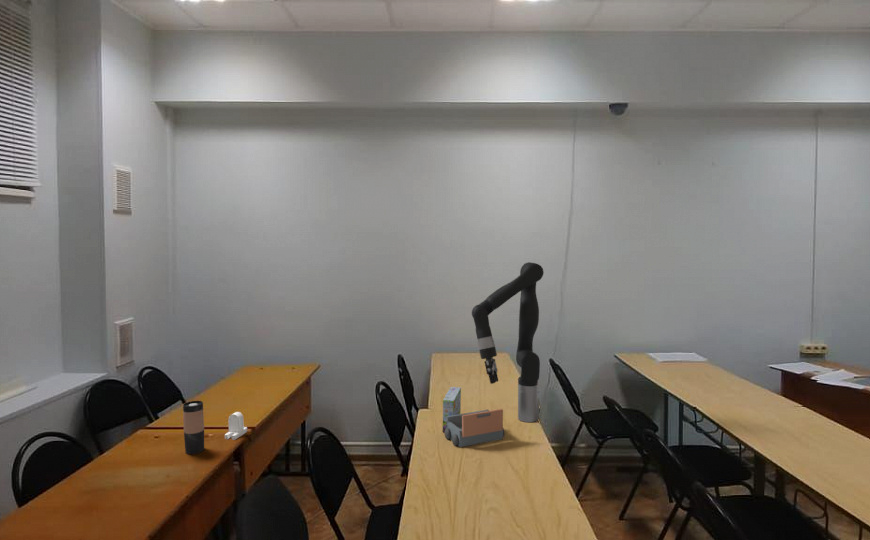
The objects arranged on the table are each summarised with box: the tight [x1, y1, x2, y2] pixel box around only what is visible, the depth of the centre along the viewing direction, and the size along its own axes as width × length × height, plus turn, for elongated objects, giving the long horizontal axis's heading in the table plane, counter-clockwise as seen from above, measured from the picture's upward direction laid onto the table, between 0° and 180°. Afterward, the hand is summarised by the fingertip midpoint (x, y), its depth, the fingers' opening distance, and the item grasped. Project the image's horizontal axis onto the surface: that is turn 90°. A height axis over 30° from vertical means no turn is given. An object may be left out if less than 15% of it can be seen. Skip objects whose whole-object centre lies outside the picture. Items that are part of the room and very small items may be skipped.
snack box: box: [442, 386, 462, 433], centre depth 241 cm, size 21×6×15 cm, turn 168°
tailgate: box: [462, 408, 504, 437], centre depth 218 cm, size 19×2×9 cm, turn 114°
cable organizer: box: [224, 411, 248, 441], centre depth 231 cm, size 5×10×10 cm, turn 168°
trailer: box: [443, 409, 506, 448], centre depth 226 cm, size 23×13×9 cm, turn 114°
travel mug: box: [182, 400, 205, 455], centre depth 214 cm, size 8×8×20 cm
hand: (494, 382), depth 236 cm, fingers open, 8 cm apart
